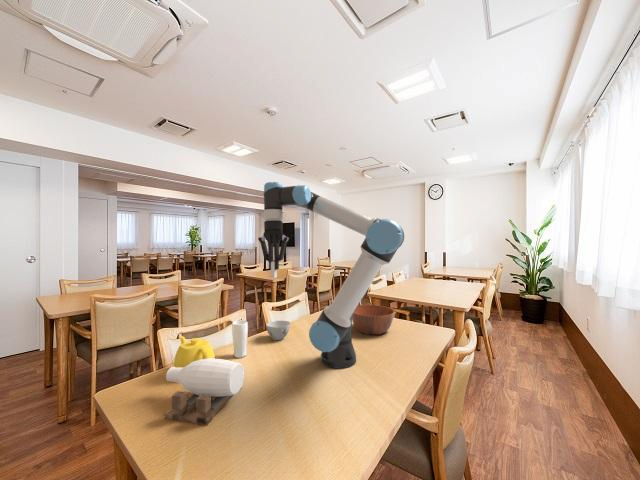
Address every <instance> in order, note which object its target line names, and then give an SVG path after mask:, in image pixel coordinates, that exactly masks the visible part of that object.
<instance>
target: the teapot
mask: <svg viewBox="0 0 640 480" xmlns="http://www.w3.org/2000/svg"><path fill="white" fill-rule="evenodd" d="M179 339H180V343H181V344H180V345H179V347H178V348H177V351H176V353H175V355H174V359H173V367H176V368H178V367H185V366H187V365H189V364H190V363H192V362H194V361H198V360H201V359H208V358H214V359H216V358H215V352H214V349H213V347H212V345H211V343H210V341H208V340H206V339H204V338H203V339H202V338H197V337H194V338H192V339H190V341H187V339H186V338H185V336H183V335H179Z"/></svg>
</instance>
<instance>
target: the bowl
mask: <svg viewBox="0 0 640 480" xmlns="http://www.w3.org/2000/svg"><path fill="white" fill-rule="evenodd" d="M394 315H395V309H393V308H391V307H387V306H385V305H378V304H377V305H375V304H361V305H358V306H357V308H356V309H355V311H354V313H353V314H352V325H353V326H354V327H355V329H356V330H357V331H358V332H360V333H362V334H365V335H374V336H376V335H377V336H378V335H383V334H385V333H386V332H388V331H389V329H390V327H391V326H392V323H393V320H394Z"/></svg>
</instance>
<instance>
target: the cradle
mask: <svg viewBox="0 0 640 480" xmlns="http://www.w3.org/2000/svg"><path fill="white" fill-rule="evenodd" d="M242 388H243V386H242V387H241V389H240V390H239V392H240V391H241V390H242ZM187 396H188V392H186V391H181V390H179V391H178V390H177V391H176V392H175V393H173V394H172V395H171V409H170V410H168V411H167V412H166V413H165V414H164V419H166V420H172V421H176V422H177V421H178V422H184V423H190V424H196V425H202V426H203V425H204V426H208V425H209V424H210V423H211V422H212V421H213V418H214V417H215V416H216V415H217V414H218V412H219V411H220V410H222V409H223V408H224V406H225V405H226V404H228V402H229V401H230V400H231V399H232V398H233V397H234V395H231V396H221V397H214V398H213V399H212V397H211V395H204V394H201V395H200V396H199V395H196V394H193V393H192V395H191V396H190V397H189V398H188V397H187ZM194 410H195V411H196V412H193V411H194Z"/></svg>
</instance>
